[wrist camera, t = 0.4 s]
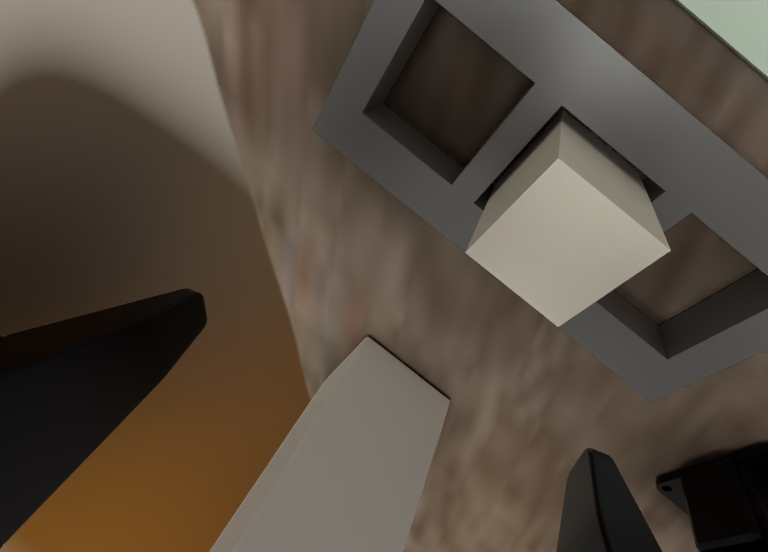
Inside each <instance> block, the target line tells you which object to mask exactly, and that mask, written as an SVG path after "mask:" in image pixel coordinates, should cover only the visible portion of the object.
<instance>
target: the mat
mask: <svg viewBox="0 0 768 552" xmlns="http://www.w3.org/2000/svg"><path fill="white" fill-rule="evenodd" d="M674 1H675V2H676V3H678V4H679V5H680V6H681V7H682V8H684V9H685V10H686V11H687V12H688V13H689V14H691V15H692V16H693V17H694V18H695V19H696V20H698V21H699V22H700V23H701V24H702V25H703V26H705V27H706V28H707V29H708V30H709V31H710V32H712V33H713V34H714V35H715V36H716V37H717V38H719V39H720V40H721V41H722V42H723V43H725V44H726V45H727V46H728V47H729V48H730V49H732V50H733V51H734V52H735V53H736V54H737V55H739V56H740V57H741V58H742V59H743V60H744V61H746V62H747V63H748V64H749V65H750V66H751V67H753V68H754V69H755V70H756V71H757V72H759V73H760V74H761V75H762V76H763V77H764V78H766V79H767V80H768V0H674Z"/></svg>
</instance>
